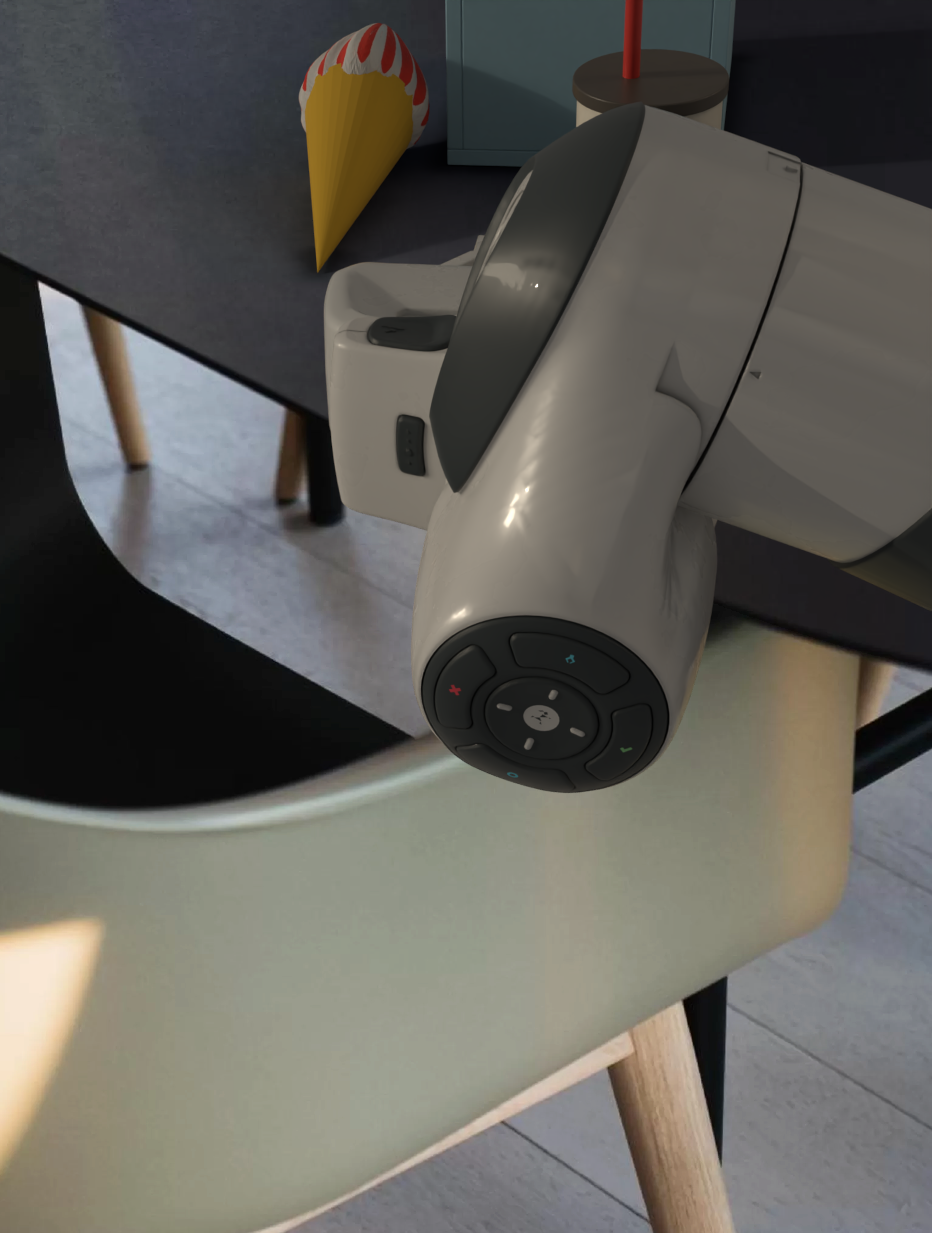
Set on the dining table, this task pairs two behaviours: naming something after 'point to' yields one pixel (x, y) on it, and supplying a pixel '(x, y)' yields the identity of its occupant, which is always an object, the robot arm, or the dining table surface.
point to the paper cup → (650, 79)
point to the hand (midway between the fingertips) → (623, 258)
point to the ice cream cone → (358, 125)
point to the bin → (550, 64)
